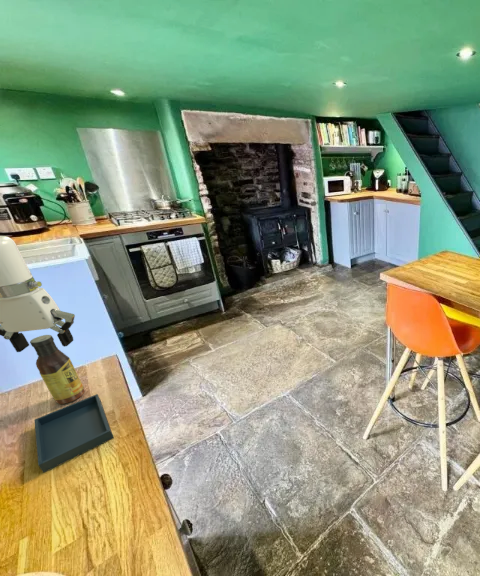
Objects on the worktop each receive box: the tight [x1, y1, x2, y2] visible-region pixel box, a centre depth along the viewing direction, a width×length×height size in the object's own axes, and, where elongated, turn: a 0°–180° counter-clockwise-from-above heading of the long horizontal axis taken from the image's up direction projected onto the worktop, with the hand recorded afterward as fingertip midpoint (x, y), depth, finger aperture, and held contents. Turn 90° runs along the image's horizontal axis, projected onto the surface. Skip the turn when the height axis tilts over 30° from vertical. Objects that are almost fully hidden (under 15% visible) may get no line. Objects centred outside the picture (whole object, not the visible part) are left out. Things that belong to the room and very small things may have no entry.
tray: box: [34, 393, 115, 473], centre depth 76 cm, size 18×12×2 cm
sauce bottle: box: [29, 334, 85, 405], centre depth 83 cm, size 7×6×20 cm
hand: (46, 346), depth 80 cm, fingers open, 9 cm apart
